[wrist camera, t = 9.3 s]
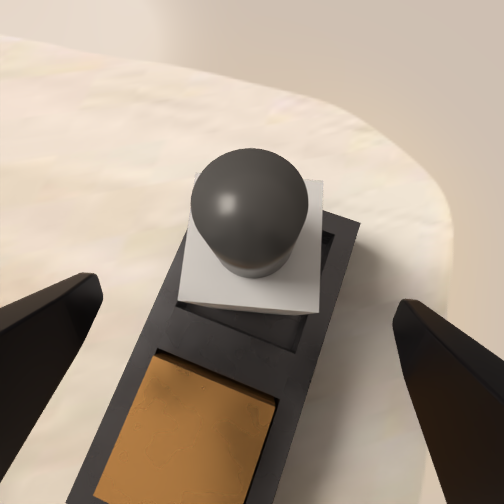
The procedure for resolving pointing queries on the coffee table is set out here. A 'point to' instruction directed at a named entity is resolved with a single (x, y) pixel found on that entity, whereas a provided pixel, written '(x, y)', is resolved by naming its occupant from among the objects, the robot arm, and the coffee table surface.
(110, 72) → the coffee table surface
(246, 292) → the white soap bottle
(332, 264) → the two-compartment sponge tray
